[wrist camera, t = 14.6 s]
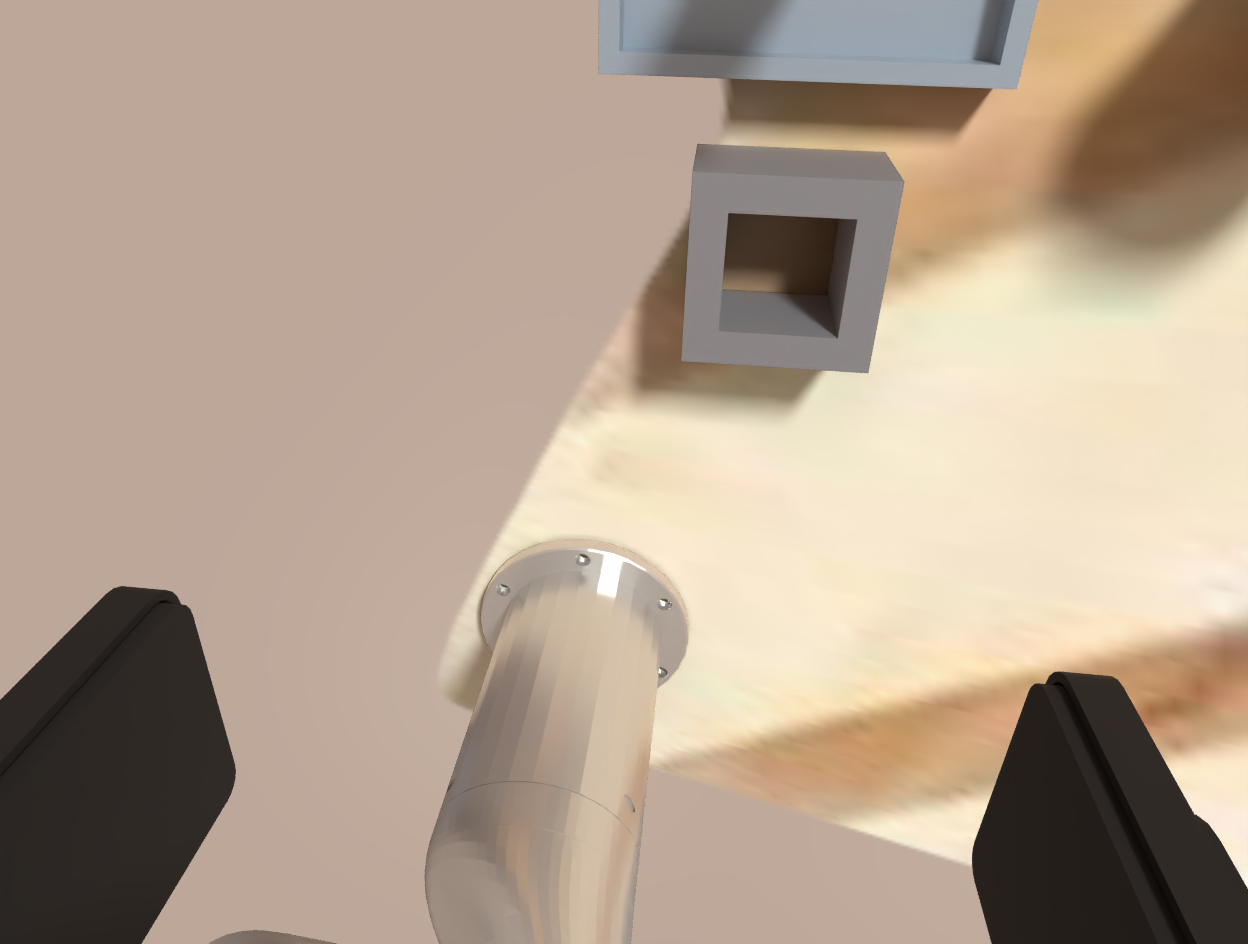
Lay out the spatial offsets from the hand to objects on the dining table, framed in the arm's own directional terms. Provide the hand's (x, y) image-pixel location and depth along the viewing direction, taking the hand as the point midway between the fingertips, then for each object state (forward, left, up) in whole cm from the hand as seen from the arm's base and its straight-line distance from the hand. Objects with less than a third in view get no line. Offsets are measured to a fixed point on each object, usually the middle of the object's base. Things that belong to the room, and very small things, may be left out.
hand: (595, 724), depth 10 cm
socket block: (-4, -4, -33) cm, 33 cm away
